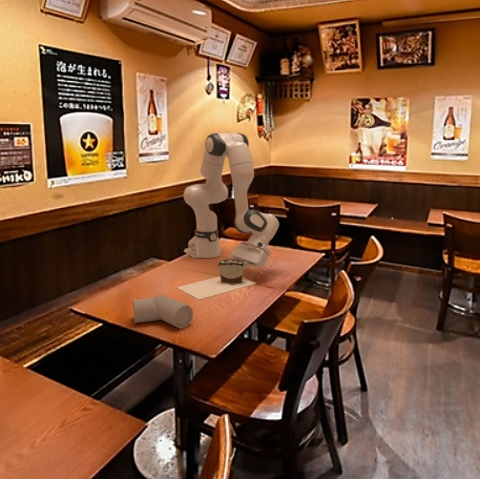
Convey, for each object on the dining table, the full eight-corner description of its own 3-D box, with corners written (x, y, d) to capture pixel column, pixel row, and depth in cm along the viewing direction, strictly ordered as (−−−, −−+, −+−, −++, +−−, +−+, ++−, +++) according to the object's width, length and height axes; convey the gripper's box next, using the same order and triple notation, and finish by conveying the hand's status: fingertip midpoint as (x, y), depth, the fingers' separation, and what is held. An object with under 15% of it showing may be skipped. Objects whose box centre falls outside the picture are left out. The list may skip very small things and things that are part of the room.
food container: (246, 279, 209) (246, 258, 207) (245, 283, 203) (245, 262, 201) (219, 278, 210) (219, 257, 208) (217, 283, 204) (217, 261, 202)
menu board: (176, 287, 199) (176, 287, 199) (232, 273, 218) (232, 273, 218) (199, 299, 186) (199, 299, 185) (256, 283, 204) (256, 283, 204)
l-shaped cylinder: (186, 305, 177) (133, 312, 171) (186, 282, 172) (132, 288, 166) (195, 334, 162) (137, 342, 156) (195, 309, 157) (136, 316, 151)
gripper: (238, 237, 218) (222, 260, 214) (266, 245, 202) (250, 271, 199) (245, 244, 221) (229, 267, 218) (274, 253, 206) (257, 278, 202)
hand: (239, 269), depth 208 cm, fingers closed
